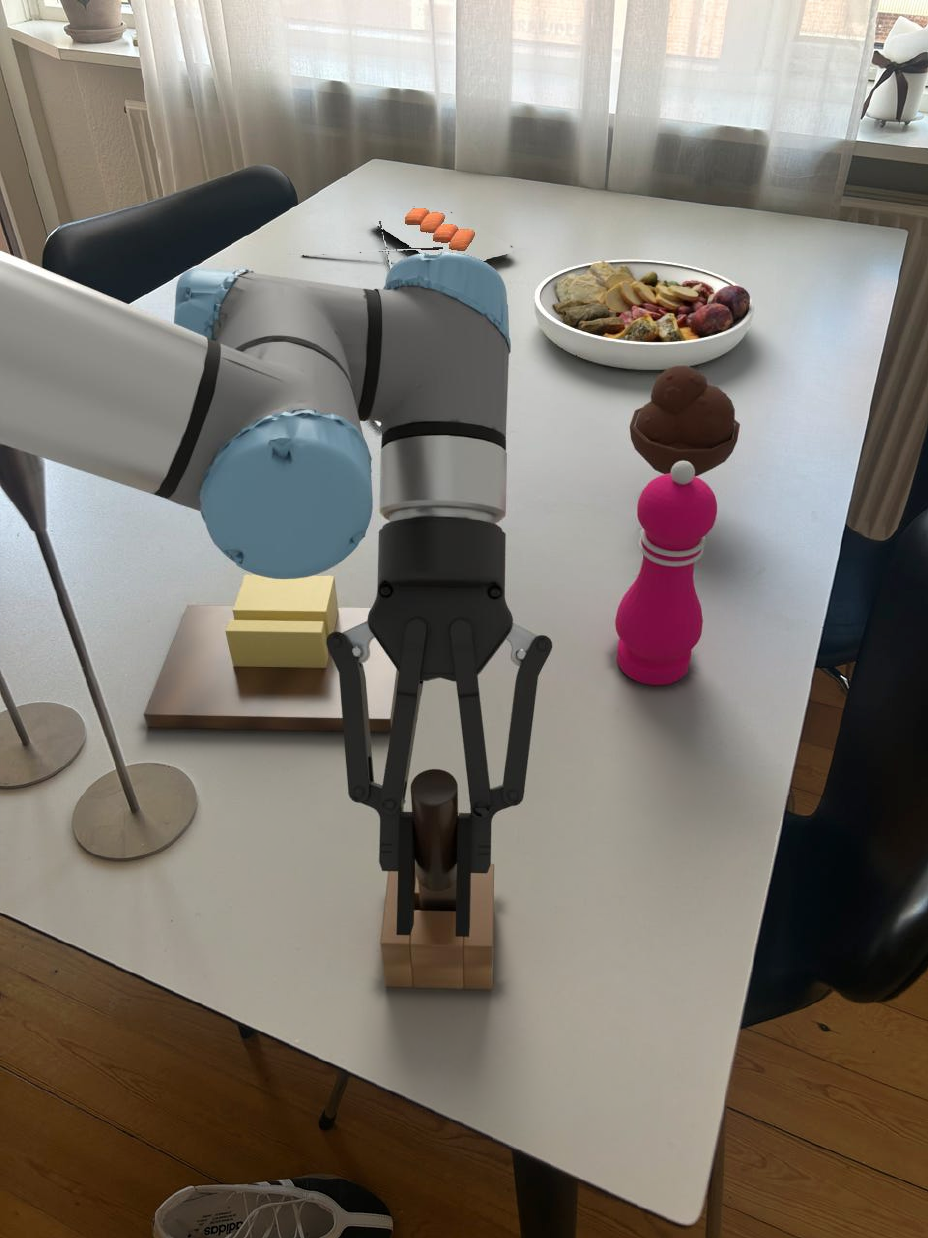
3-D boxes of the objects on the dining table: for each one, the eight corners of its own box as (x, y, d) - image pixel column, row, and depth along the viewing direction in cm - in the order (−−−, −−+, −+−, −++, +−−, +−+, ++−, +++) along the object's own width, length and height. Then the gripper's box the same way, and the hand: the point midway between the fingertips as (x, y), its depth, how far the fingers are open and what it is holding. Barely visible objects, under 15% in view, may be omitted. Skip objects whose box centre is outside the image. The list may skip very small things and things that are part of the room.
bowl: (514, 368, 128) (516, 310, 123) (552, 284, 151) (554, 233, 146) (745, 391, 123) (757, 332, 118) (749, 300, 145) (759, 247, 140)
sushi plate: (521, 261, 159) (521, 237, 156) (355, 298, 147) (353, 273, 145) (435, 212, 178) (435, 191, 175) (283, 242, 166) (280, 219, 164)
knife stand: (384, 987, 61) (379, 944, 58) (393, 905, 66) (389, 860, 63) (492, 990, 61) (493, 947, 58) (493, 907, 66) (494, 863, 62)
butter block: (239, 645, 84) (232, 610, 81) (251, 609, 88) (244, 574, 85) (330, 647, 84) (326, 611, 81) (338, 610, 88) (334, 575, 85)
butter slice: (232, 666, 82) (224, 631, 79) (236, 654, 83) (228, 619, 80) (326, 668, 82) (321, 632, 79) (328, 656, 83) (324, 620, 80)
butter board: (147, 727, 79) (143, 714, 78) (190, 617, 89) (187, 604, 88) (391, 732, 78) (390, 719, 77) (405, 620, 89) (404, 608, 88)
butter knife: (419, 963, 62) (408, 804, 52) (422, 928, 64) (412, 768, 54) (460, 964, 62) (456, 805, 52) (461, 929, 64) (458, 769, 54)
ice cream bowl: (614, 524, 100) (629, 392, 91) (631, 470, 108) (646, 343, 99) (718, 541, 98) (744, 406, 88) (727, 484, 106) (752, 355, 96)
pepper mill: (593, 656, 85) (614, 458, 72) (651, 623, 88) (681, 428, 75) (653, 702, 80) (687, 500, 67) (712, 666, 84) (755, 466, 71)
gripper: (569, 536, 61) (566, 919, 59) (322, 533, 61) (310, 912, 59) (580, 513, 53) (577, 951, 51) (298, 509, 54) (283, 943, 52)
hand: (434, 929), depth 55 cm, fingers closed on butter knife, 3 cm apart
